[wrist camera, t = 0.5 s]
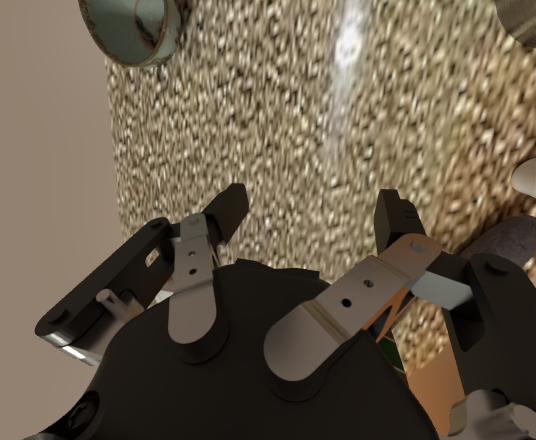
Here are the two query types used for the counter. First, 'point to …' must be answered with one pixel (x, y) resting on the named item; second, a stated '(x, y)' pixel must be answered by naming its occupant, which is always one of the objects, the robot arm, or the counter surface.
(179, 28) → the bowl
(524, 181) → the drinking glass
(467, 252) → the perforated stone tool
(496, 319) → the robot arm
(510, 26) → the pot
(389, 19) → the counter surface
